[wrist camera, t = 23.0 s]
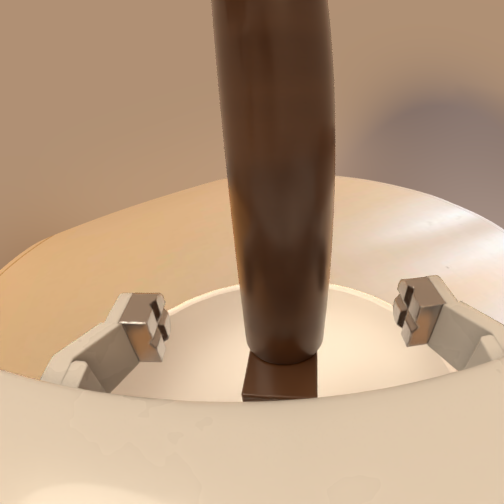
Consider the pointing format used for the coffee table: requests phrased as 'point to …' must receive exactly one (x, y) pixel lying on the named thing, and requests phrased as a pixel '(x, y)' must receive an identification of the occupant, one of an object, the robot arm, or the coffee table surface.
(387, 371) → the bowl
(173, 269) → the coffee table surface
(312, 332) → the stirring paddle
